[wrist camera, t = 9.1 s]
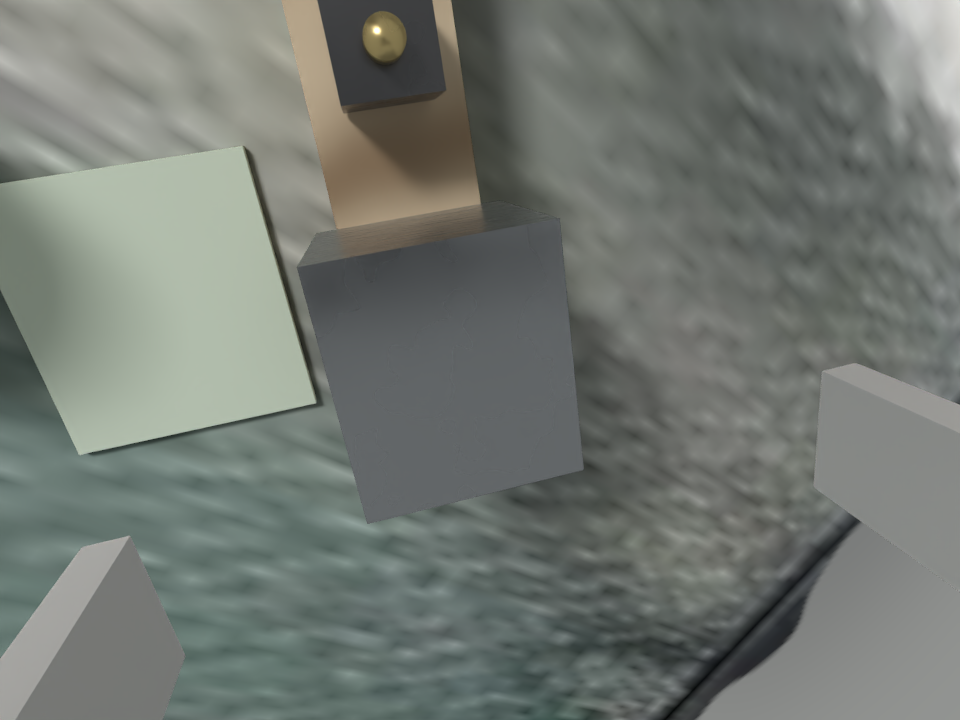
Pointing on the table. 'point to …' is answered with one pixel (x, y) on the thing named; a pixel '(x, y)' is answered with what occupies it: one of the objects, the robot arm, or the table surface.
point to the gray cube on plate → (446, 353)
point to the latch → (383, 52)
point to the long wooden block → (386, 133)
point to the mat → (151, 297)
